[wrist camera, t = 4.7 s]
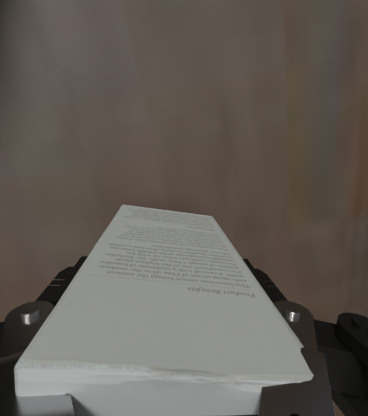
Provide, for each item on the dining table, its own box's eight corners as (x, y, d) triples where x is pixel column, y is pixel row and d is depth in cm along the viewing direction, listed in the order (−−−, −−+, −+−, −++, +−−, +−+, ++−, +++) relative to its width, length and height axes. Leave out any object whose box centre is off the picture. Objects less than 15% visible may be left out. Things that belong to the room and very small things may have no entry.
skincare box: (115, 264, 17) (3, 536, 5) (122, 202, 16) (1, 362, 4) (204, 273, 17) (286, 533, 6) (216, 215, 16) (342, 383, 5)
